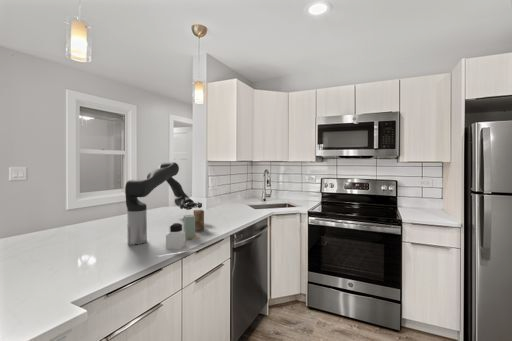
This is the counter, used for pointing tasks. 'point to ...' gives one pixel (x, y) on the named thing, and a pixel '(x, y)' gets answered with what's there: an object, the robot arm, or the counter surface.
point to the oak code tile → (193, 238)
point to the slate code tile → (202, 231)
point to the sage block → (189, 226)
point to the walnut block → (199, 220)
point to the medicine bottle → (175, 237)
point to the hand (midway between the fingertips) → (193, 207)
